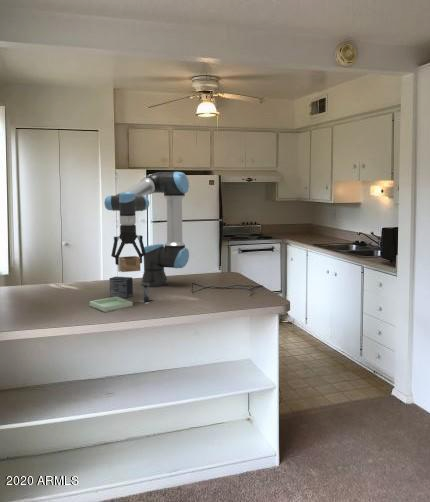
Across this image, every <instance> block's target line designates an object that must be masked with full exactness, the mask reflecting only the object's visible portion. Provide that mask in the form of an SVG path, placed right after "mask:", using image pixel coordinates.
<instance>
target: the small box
mask: <svg viewBox="0 0 430 502" xmlns="http://www.w3.org/2000/svg"><path fill="white" fill-rule="evenodd" d="M133 296H134V289H133V277H131V276H130V277H129V276H126V277H125V276H113V277H112V276H111V277H110V278H109V298H112V297H120V298H123V299H129V298H131V297H133Z"/></svg>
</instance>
